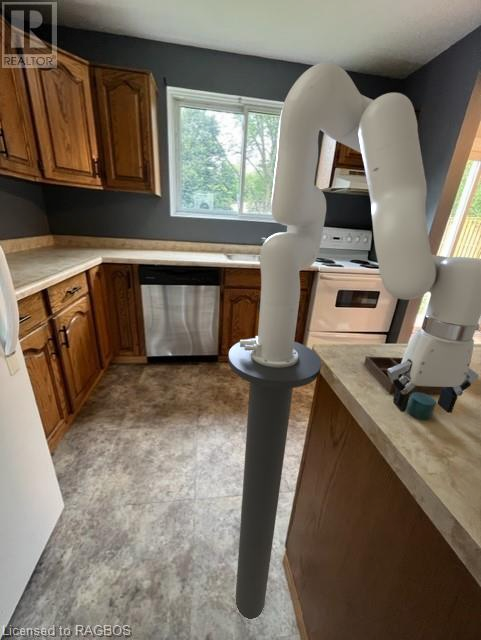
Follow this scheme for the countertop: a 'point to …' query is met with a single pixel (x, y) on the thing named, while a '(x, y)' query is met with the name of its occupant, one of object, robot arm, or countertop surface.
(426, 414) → the teal cylinder
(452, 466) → the countertop surface
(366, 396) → the countertop surface
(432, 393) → the grid
